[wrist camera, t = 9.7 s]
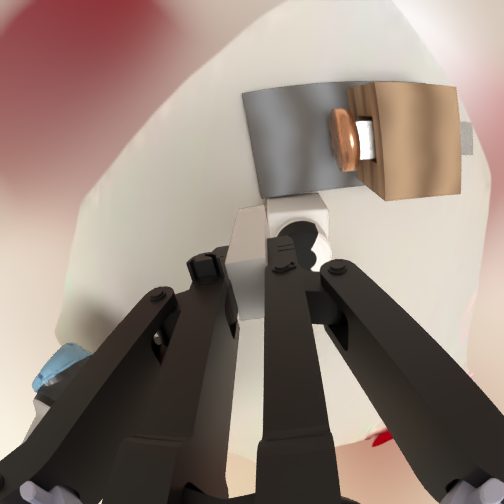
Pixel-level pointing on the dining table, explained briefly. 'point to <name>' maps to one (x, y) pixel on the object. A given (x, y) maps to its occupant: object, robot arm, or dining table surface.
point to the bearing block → (385, 131)
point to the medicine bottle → (302, 227)
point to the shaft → (368, 139)
